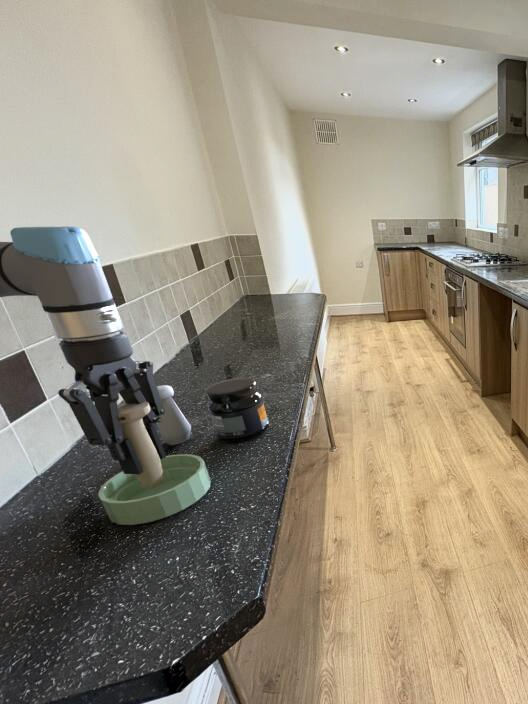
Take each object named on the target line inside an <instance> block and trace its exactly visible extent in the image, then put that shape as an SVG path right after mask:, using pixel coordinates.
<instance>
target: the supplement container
mask: <svg viewBox="0 0 528 704" xmlns="http://www.w3.org/2000/svg"><path fill="white" fill-rule="evenodd" d="M204 394H205V396H206V399H207V400H208V401H207V403H206V409H207V410H208V413H209V416H210V419H211V422H212V425H213V428H214V432H215V436H216V437H217V439H218V440H219V441H221V442H224V443H231V444H233V443H242V442H247V441H249V440H253V439H255V438H257V437H259V436H262V435H263V434H264V433H265V432H266V431H267V430H268V428H269V426H270V421H269V419H268V415H267V412H266V411H267V410H266V409H265V404H264V400H263V394H262V393H261V392H260V391H259V390H258V385H257V381H256V380H255V379H253V378H249V377H236V378H229V379H225V380H221V381H218V382H215V383H213V384H210V385H209V386H207V387H206V388H205V390H204Z"/></svg>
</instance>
